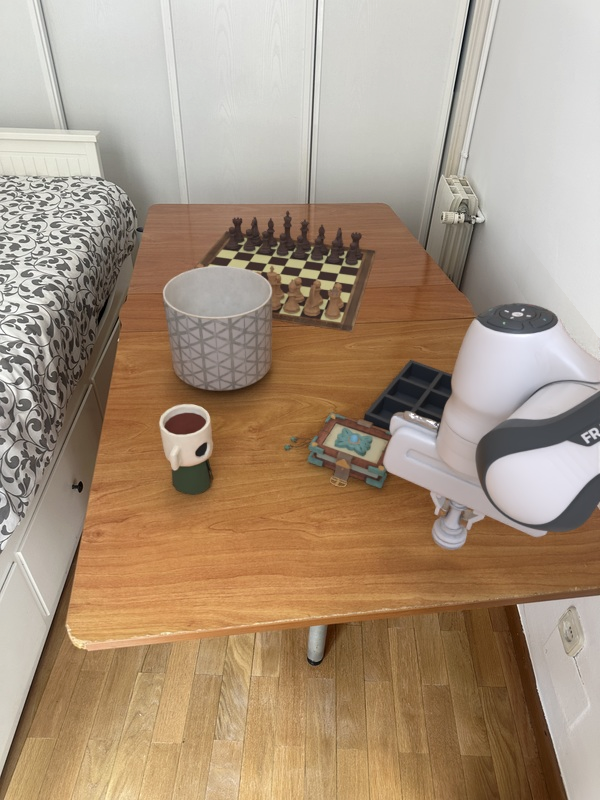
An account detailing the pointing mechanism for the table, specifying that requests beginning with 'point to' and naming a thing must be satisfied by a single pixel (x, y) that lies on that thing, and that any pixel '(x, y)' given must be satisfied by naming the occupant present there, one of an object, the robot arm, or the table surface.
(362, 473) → the decorative book
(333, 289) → the chessboard
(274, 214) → the table surface
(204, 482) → the character mug
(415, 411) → the grid
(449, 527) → the chess piece
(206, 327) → the planter
